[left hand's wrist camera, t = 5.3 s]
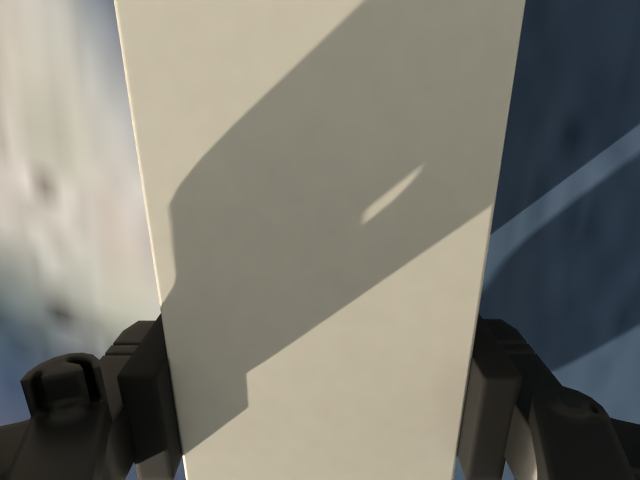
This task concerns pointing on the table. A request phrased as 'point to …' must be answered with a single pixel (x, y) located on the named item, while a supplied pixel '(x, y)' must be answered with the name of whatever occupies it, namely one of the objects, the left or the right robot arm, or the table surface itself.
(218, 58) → the cabinet
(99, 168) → the table surface
